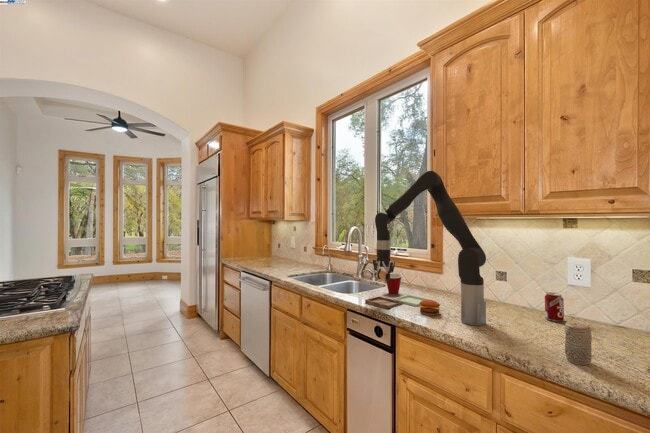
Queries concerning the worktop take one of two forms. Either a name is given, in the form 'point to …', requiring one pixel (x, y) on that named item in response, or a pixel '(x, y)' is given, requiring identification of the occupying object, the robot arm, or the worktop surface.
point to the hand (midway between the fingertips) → (383, 279)
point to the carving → (578, 343)
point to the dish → (411, 300)
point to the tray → (383, 302)
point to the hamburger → (429, 307)
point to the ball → (382, 275)
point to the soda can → (554, 307)
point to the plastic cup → (394, 284)
